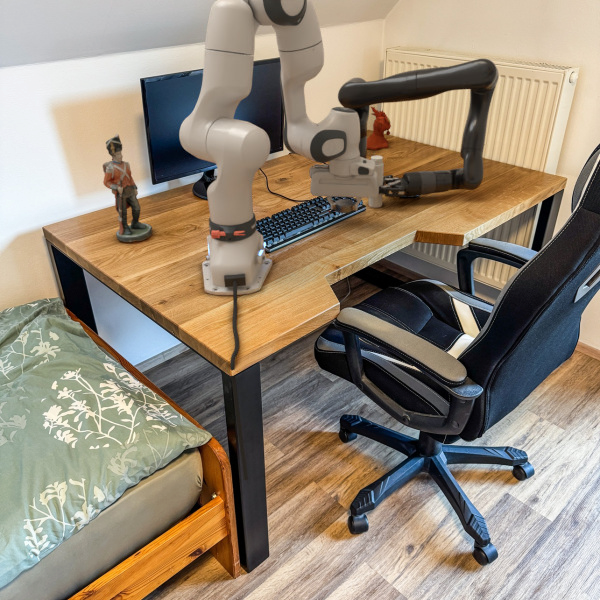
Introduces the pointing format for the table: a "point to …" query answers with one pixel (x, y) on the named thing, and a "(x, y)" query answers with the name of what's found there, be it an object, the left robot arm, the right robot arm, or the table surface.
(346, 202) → the lid
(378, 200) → the white cylinder
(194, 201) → the table surface
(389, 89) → the right robot arm
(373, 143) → the toy
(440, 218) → the table surface
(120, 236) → the figurine
